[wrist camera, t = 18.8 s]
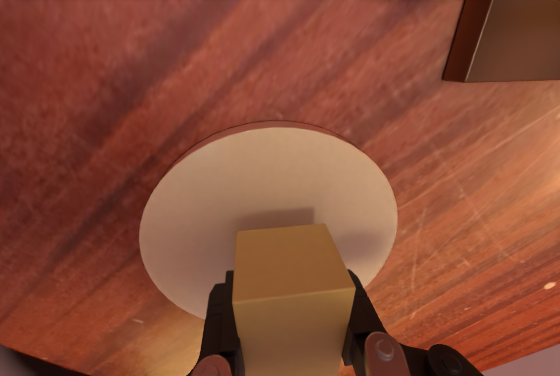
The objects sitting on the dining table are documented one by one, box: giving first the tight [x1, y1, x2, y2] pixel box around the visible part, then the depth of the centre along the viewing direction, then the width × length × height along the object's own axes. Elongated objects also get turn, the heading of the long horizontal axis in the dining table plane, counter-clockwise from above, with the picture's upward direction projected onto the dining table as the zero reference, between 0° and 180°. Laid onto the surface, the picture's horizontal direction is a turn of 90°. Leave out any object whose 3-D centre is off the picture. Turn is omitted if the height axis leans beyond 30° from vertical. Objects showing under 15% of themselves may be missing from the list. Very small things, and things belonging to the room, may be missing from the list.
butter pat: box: [232, 224, 356, 376], centre depth 10 cm, size 4×6×4 cm, turn 1°
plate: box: [139, 121, 398, 320], centre depth 14 cm, size 14×14×1 cm
